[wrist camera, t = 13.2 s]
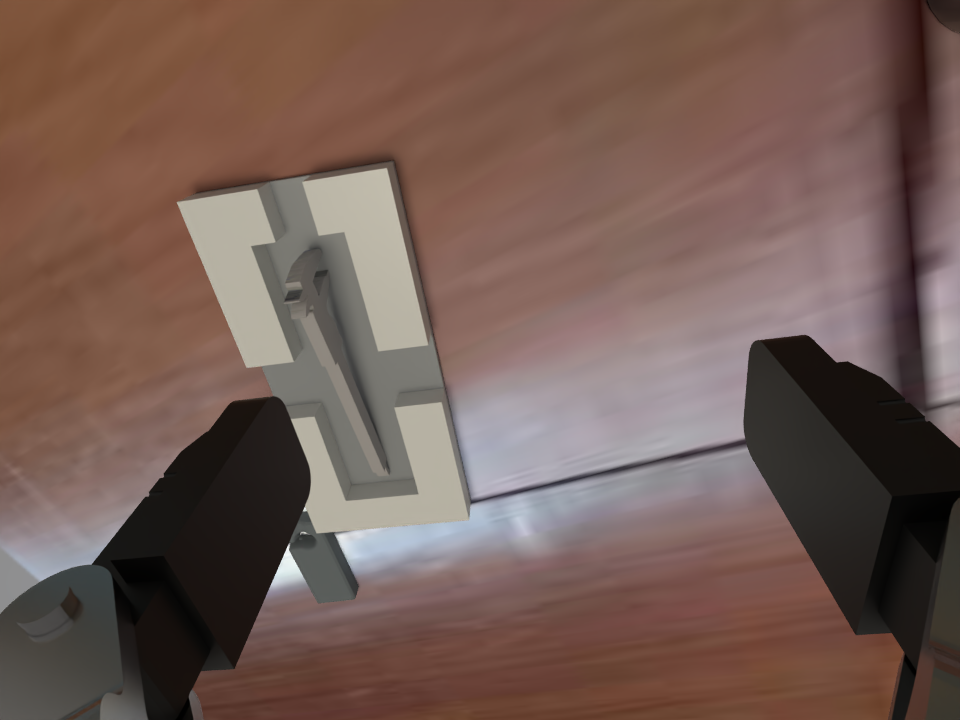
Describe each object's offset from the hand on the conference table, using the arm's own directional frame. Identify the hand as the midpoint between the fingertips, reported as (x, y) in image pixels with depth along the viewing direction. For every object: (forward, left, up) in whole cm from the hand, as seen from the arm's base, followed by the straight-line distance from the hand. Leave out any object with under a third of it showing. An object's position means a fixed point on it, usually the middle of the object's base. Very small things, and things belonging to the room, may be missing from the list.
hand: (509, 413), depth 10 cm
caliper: (+14, +15, -30) cm, 36 cm away
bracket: (+23, +35, -31) cm, 52 cm away
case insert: (+14, +15, -30) cm, 37 cm away
